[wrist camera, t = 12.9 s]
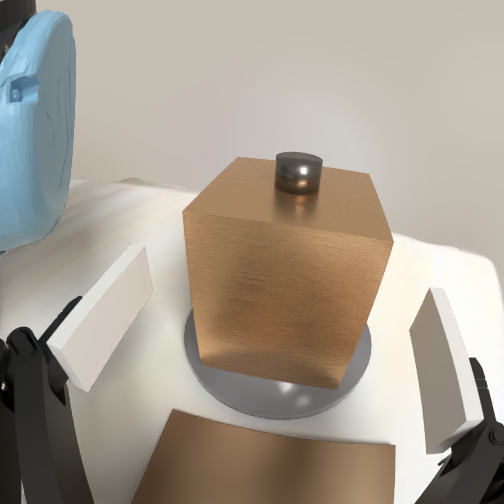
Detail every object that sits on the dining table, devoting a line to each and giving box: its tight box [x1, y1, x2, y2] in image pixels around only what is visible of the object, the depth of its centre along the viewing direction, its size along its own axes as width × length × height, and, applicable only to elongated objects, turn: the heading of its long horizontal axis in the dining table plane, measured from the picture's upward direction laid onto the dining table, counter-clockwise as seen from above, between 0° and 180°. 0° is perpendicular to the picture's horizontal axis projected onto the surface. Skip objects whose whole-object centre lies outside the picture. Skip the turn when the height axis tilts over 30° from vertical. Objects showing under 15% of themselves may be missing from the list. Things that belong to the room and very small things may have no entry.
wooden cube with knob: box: [182, 152, 394, 390], centre depth 18 cm, size 9×9×13 cm
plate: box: [184, 309, 371, 420], centre depth 22 cm, size 14×14×1 cm
